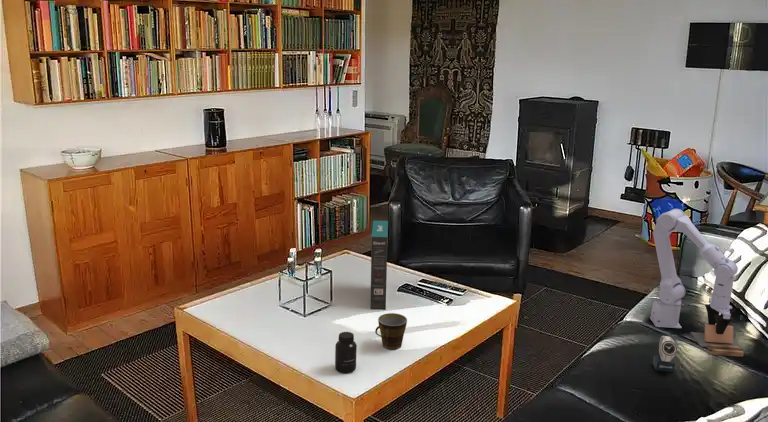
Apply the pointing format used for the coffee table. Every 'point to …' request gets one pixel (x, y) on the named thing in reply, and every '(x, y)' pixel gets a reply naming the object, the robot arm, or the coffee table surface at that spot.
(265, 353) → the coffee table surface
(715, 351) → the rack
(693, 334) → the mat
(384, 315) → the ceramic cup
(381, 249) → the cake mix box
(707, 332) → the tile
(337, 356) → the supplement bottle
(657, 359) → the watch
